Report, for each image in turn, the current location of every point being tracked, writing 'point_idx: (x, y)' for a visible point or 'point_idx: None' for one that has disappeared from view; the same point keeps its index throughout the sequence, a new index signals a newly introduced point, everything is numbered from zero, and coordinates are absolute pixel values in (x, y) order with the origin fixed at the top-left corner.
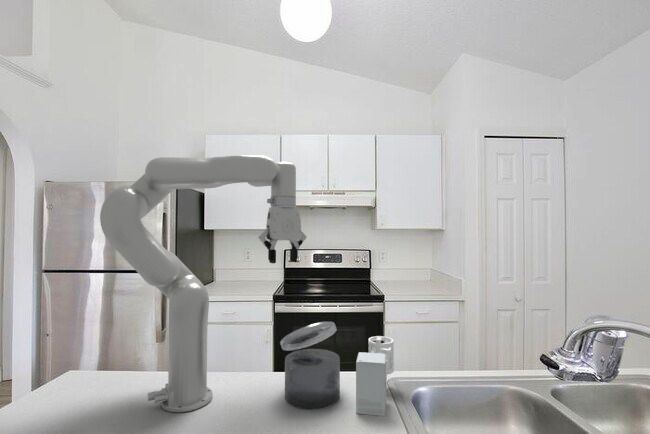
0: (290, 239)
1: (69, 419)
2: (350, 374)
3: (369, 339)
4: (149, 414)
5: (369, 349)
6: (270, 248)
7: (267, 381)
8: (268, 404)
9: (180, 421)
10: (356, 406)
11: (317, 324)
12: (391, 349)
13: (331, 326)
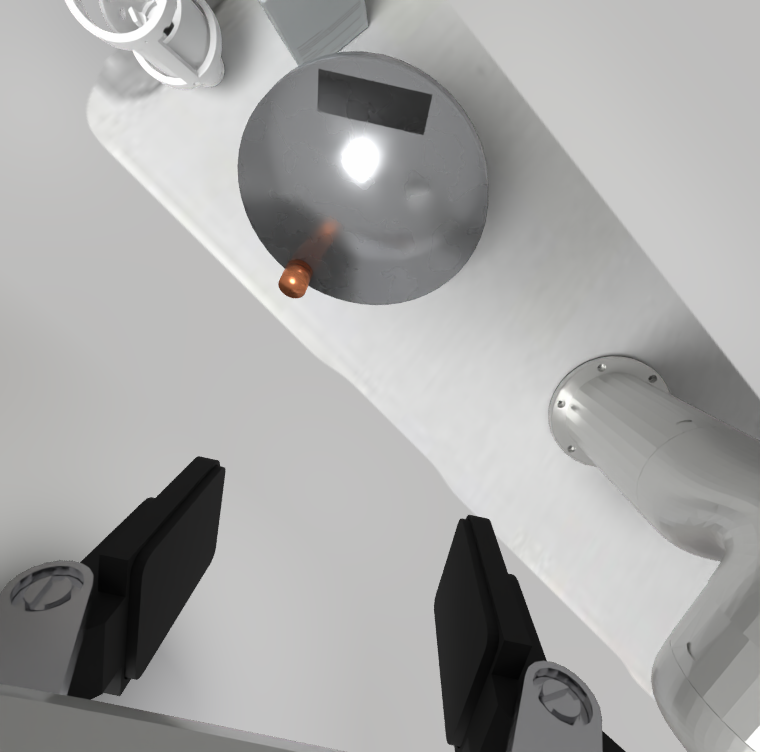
0: (177, 726)
1: None
2: (203, 216)
3: (148, 25)
4: None
5: (169, 49)
6: (589, 692)
7: (408, 359)
8: (490, 250)
9: (670, 334)
10: (366, 15)
11: (400, 67)
12: None
13: (318, 57)
